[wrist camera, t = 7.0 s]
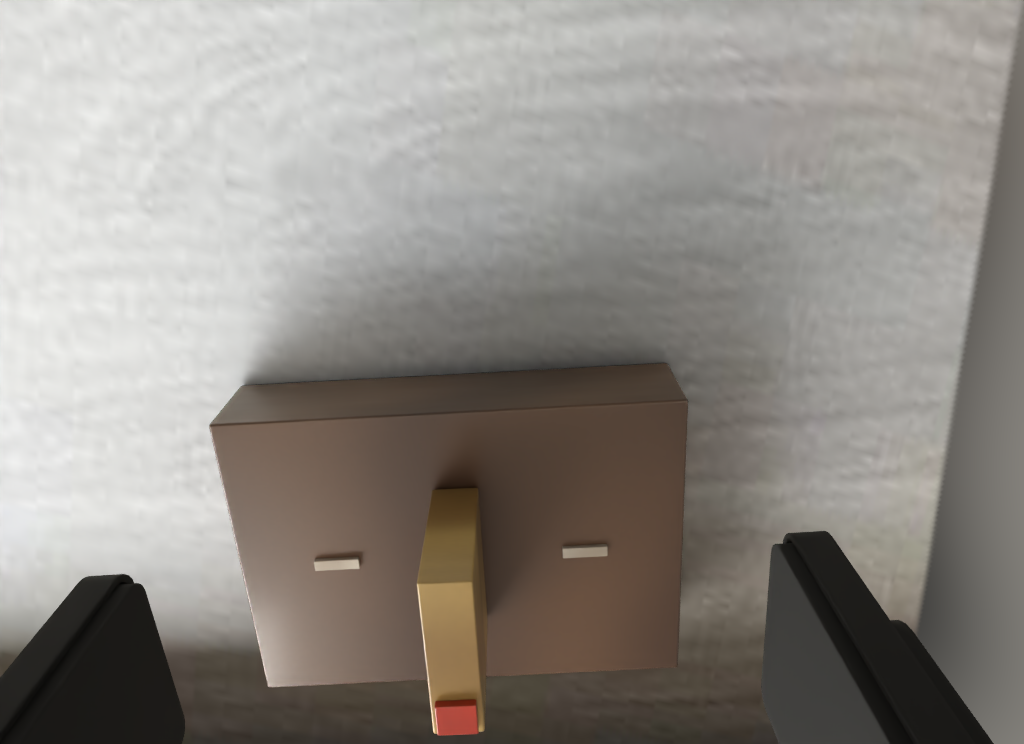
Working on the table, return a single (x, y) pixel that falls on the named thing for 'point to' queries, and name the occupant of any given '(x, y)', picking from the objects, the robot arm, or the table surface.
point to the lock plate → (503, 513)
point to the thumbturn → (454, 612)
